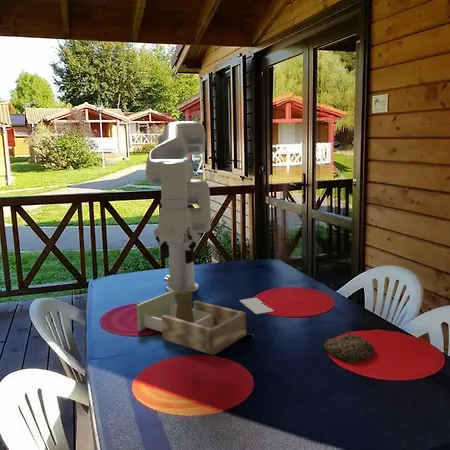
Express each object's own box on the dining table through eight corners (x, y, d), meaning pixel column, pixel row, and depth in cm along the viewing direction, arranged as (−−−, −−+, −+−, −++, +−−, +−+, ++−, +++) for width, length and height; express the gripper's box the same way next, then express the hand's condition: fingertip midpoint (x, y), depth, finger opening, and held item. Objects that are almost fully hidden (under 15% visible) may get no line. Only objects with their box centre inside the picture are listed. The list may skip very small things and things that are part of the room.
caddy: (162, 338, 140) (161, 316, 139) (197, 321, 153) (196, 300, 151) (213, 355, 129) (212, 331, 128) (246, 334, 142) (245, 312, 140)
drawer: (138, 330, 146) (136, 304, 144) (173, 313, 159) (172, 290, 157) (183, 344, 135) (182, 317, 134) (217, 325, 148) (216, 300, 146)
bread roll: (347, 367, 121) (348, 349, 121) (317, 348, 132) (317, 331, 131) (384, 355, 127) (385, 338, 126) (352, 338, 138) (353, 322, 137)
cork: (197, 322, 147) (196, 288, 145) (190, 330, 141) (189, 294, 139) (179, 320, 149) (178, 287, 147) (171, 328, 143) (170, 293, 141)
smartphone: (256, 314, 157) (238, 300, 171) (256, 315, 157) (238, 301, 171) (275, 311, 159) (256, 297, 173) (275, 312, 160) (256, 298, 173)
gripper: (144, 203, 141) (147, 259, 144) (189, 208, 131) (191, 267, 134) (161, 200, 147) (164, 253, 150) (206, 204, 137) (207, 261, 140)
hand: (177, 260), depth 142 cm, fingers open, 9 cm apart
